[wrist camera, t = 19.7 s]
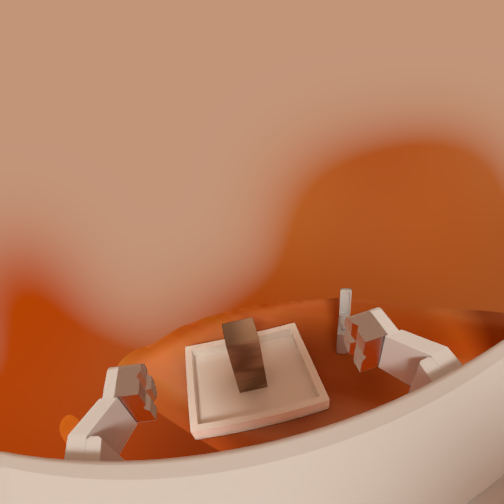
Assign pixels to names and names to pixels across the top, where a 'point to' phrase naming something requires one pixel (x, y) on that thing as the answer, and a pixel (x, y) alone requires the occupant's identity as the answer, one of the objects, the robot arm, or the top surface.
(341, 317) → the lighter
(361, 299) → the top surface
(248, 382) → the walnut block
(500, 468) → the robot arm
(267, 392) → the tray
